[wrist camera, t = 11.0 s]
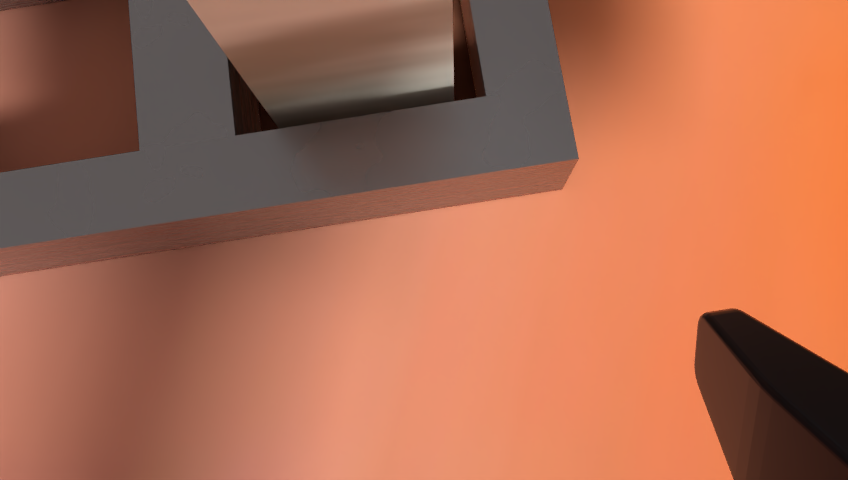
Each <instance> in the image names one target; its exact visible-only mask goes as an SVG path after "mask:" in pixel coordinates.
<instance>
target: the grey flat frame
mask: <svg viewBox="0 0 848 480" xmlns="http://www.w3.org/2000/svg"><path fill="white" fill-rule="evenodd" d="M57 1H63V0H0V11H1V10H7V9H13V8H20V7H26V6H32V5H38V4H44V3H51V2H57ZM128 4H129V17H130V30H131V44H132V57H133V70H134V84H135V97H136V110H137V123H138V137H139V150H140V151H134V152H128V153H122V154H115V155H109V156H103V157H96V158H90V159H84V160H77V161H71V162H64V163H58V164H52V165H45V166H39V167H33V168H26V169H20V170H14V171H7V172H1V173H0V276H4V275H11V274H17V273H24V272H30V271H37V270H43V269H49V268H56V267H62V266H69V265H75V264H82V263H88V262H95V261H101V260H108V259H114V258H121V257H127V256H134V255H140V254H147V253H153V252H159V251H166V250H172V249H179V248H185V247H192V246H198V245H205V244H211V243H218V242H224V241H231V240H237V239H244V238H250V237H256V236H263V235H269V234H276V233H282V232H289V231H295V230H302V229H308V228H315V227H321V226H328V225H334V224H341V223H347V222H353V221H360V220H366V219H373V218H379V217H386V216H392V215H399V214H405V213H412V212H418V211H425V210H431V209H438V208H444V207H451V206H457V205H463V204H470V203H476V202H483V201H489V200H496V199H502V198H509V197H515V196H522V195H528V194H535V193H541V192H548V191H554V190H560V189H562V188H563V187H564V185H565V183H566V181H567V179H568V177H569V176H570V174H571V172H572V170H573V168H574V166H575V164H576V163H577V161H578V159H579V158H578V153H577V148H576V142H575V137H574V132H573V127H572V122H571V117H570V112H569V107H568V102H567V97H566V91H565V86H564V81H563V76H562V71H561V66H560V61H559V56H558V51H557V46H556V40H555V35H554V30H553V25H552V20H551V15H550V10H549V5H548V0H460V6H461V12H462V18H463V23H464V29H465V35H466V41H467V47H468V53H469V59H470V64H471V70H472V76H473V82H474V88H475V94H476V98H471V99H465V100H459V101H452V102H446V103H440V104H433V105H427V106H420V107H414V108H408V109H401V110H395V111H389V112H382V113H376V114H370V115H363V116H357V117H351V118H344V119H338V120H331V121H325V122H319V123H312V124H306V125H300V126H293V127H287V128H281V129H274V130H268V131H261V122H260V113H259V104H258V99H257V98H256V96H255V95H254V93H253V92H252V91H251V89H250V88H249V86H248V85H247V84H246V82H245V81H244V79H243V78H242V77H241V75H240V74H239V72H238V71H237V70H236V68H235V67H234V66H233V64H232V63H231V61H230V60H229V59H228V57H227V56H226V54H225V53H224V52H223V50H222V49H221V47H220V46H219V45H218V43H217V42H216V40H215V39H214V38H213V36H212V35H211V33H210V32H209V31H208V29H207V28H206V26H205V25H204V24H203V22H202V21H201V20H200V18H199V17H198V15H197V14H196V13H195V11H194V10H193V8H192V7H191V6H190V4H189V3H188V1H187V0H128Z"/></svg>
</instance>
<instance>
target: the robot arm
mask: <svg viewBox="0 0 848 480" xmlns="http://www.w3.org/2000/svg"><path fill="white" fill-rule="evenodd" d="M695 375H696V379H697V383H698V386H699V389H700V391H701V394H702V397H703V399H704V402H705V405H706V407H707V410H708V413H709V415H710V418H711V421H712V423H713V426H714V429H715V431H716V434H717V437H718V439H719V442H720V445H721V447H722V450H723V453H724V455H725V458H726V460H727V463H728V466H729V468H730V471H731V474H732V476H733V479H734V480H848V373H847V372H846V371H844V370H842V369H841V368H839V367H837V366H836V365H834V364H832V363H830V362H829V361H827V360H825V359H824V358H822V357H820V356H818V355H817V354H815V353H813V352H812V351H810V350H808V349H806V348H805V347H803V346H801V345H800V344H798V343H796V342H794V341H793V340H791V339H789V338H788V337H786V336H784V335H782V334H781V333H779V332H777V331H776V330H774V329H772V328H770V327H769V326H767V325H765V324H764V323H762V322H760V321H758V320H757V319H755V318H753V317H752V316H750V315H748V314H747V313H745V312H743V311H741V310H738V309H725V310H719V311H712V312H707V313H704V314H703V315H701V317H700V319H699V322H698V329H697V341H696V352H695Z"/></svg>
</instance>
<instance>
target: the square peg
mask: <svg viewBox="0 0 848 480" xmlns="http://www.w3.org/2000/svg"><path fill="white" fill-rule="evenodd" d="M187 1H188V3H189V4H190V6H191V7H192V8H193V10H194V11H195V13H196V14H197V15H198V17H199V18H200V20H201V21H202V22H203V24H204V25H205V26H206V28H207V29H208V31H209V32H210V33H211V35H212V36H213V38H214V39H215V40H216V42H217V43H218V45H219V46H220V47H221V49H222V50H223V52H224V53H225V54H226V56H227V57H228V59H229V60H230V61H231V63H232V64H233V66H234V67H235V68H236V70H237V71H238V72H239V74H240V75H241V77H242V78H243V79H244V81H245V82H246V84H247V85H248V86H249V88H250V89H251V91H252V92H253V93H254V95H255V96H256V98H257V99H258V100H259V102H260V103H261V105H262V106H263V107H264V109H265V110H266V111H267V113H268V114H269V116H270V117H271V118H272V120H273V121H274V123H275V124H276V125H277V127H278V128H279V129H281V128H287V127H293V126H300V125H306V124H312V123H319V122H325V121H331V120H338V119H344V118H351V117H357V116H363V115H370V114H376V113H382V112H389V111H395V110H401V109H408V108H414V107H420V106H427V105H433V104H440V103H446V102H452V101H454V57H453V0H187Z"/></svg>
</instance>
